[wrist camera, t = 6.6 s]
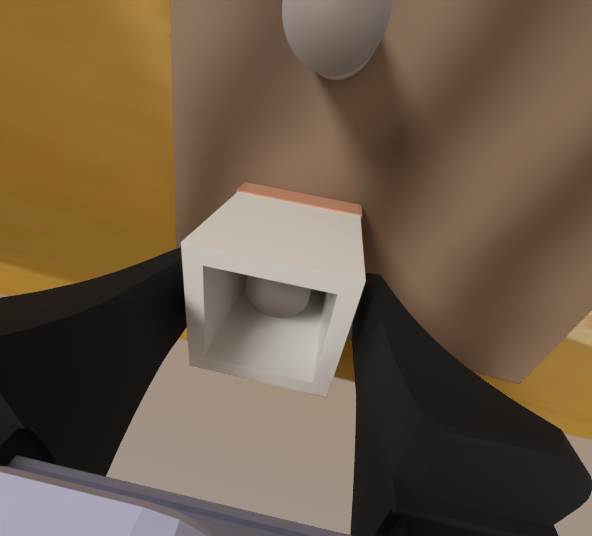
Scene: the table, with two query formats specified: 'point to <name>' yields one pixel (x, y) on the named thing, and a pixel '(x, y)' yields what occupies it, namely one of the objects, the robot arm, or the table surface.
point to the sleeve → (277, 267)
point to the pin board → (407, 150)
